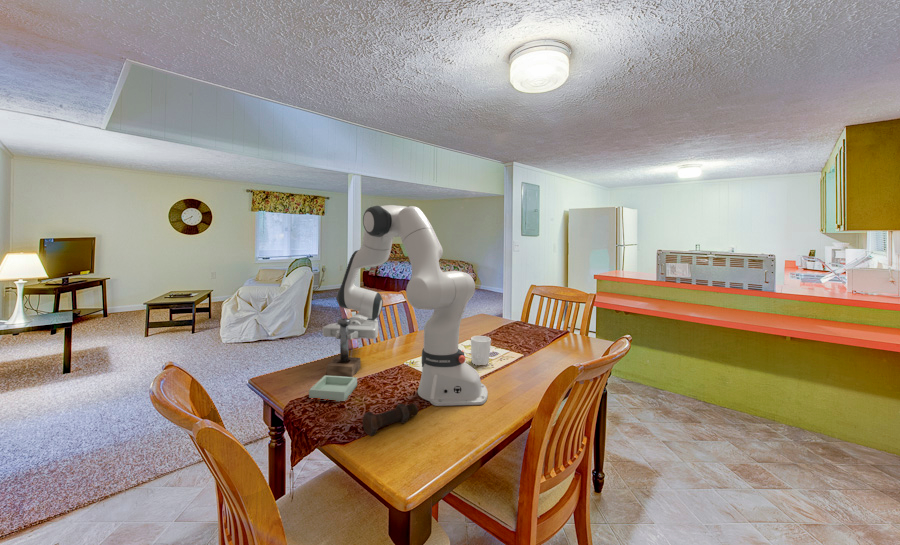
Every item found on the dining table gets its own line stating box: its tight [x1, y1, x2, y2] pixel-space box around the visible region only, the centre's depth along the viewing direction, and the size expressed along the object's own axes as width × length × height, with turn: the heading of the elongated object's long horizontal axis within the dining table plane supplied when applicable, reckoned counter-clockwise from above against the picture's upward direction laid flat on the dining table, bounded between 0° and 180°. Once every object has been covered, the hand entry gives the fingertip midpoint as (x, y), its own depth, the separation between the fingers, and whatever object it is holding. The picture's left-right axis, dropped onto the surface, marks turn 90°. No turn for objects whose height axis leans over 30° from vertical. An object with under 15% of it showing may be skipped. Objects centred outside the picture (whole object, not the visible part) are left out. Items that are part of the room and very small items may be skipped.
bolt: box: [362, 403, 419, 437], centre depth 95 cm, size 6×5×15 cm
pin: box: [337, 317, 350, 362], centre depth 127 cm, size 4×4×15 cm
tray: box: [308, 374, 358, 402], centre depth 112 cm, size 11×11×3 cm
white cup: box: [470, 335, 492, 366], centre depth 141 cm, size 8×8×10 cm
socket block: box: [326, 355, 361, 377], centre depth 128 cm, size 9×9×4 cm
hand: (343, 337), depth 126 cm, fingers closed on pin, 3 cm apart
